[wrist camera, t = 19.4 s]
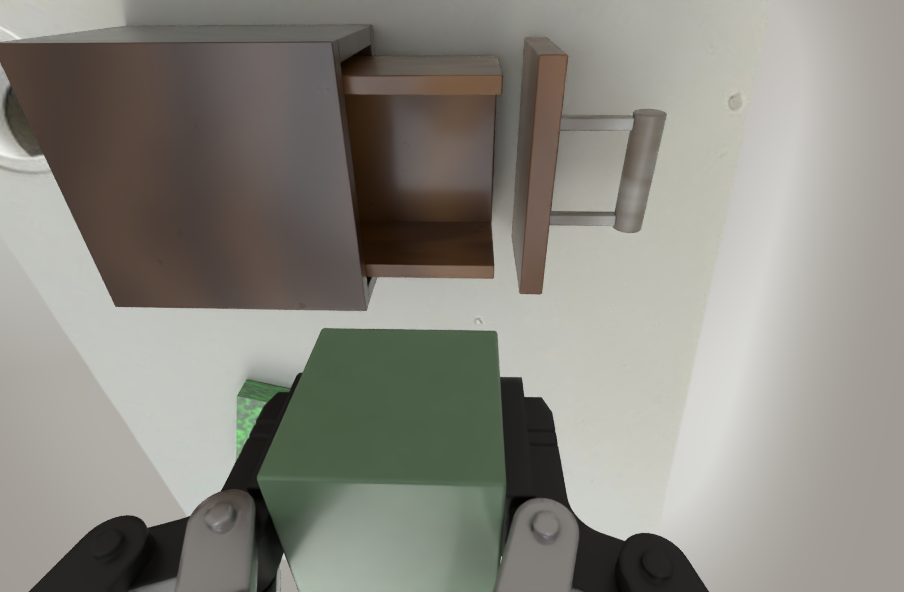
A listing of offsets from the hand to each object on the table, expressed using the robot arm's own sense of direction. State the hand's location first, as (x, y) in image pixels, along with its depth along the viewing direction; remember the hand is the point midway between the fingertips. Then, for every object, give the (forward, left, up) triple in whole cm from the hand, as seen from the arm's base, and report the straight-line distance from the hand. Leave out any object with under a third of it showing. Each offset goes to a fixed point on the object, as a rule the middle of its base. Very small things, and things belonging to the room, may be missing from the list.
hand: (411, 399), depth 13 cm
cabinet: (+7, -9, -20) cm, 23 cm away
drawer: (-2, 0, -19) cm, 19 cm away
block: (0, 0, 0) cm, 0 cm away
